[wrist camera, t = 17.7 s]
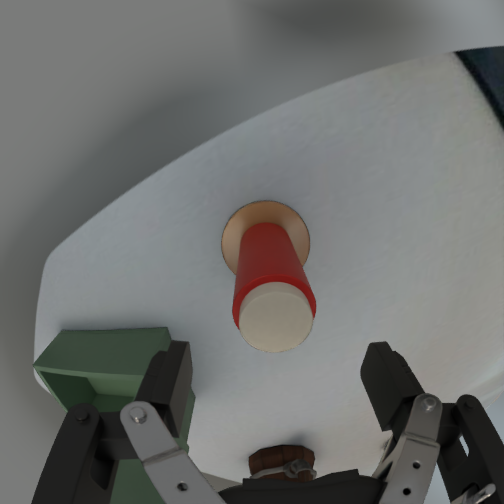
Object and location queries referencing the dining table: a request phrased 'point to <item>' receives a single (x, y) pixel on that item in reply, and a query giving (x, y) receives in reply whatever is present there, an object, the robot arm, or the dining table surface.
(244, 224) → the disc
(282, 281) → the sauce bottle
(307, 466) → the mug
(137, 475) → the chest lid
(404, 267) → the dining table surface
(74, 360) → the chest
